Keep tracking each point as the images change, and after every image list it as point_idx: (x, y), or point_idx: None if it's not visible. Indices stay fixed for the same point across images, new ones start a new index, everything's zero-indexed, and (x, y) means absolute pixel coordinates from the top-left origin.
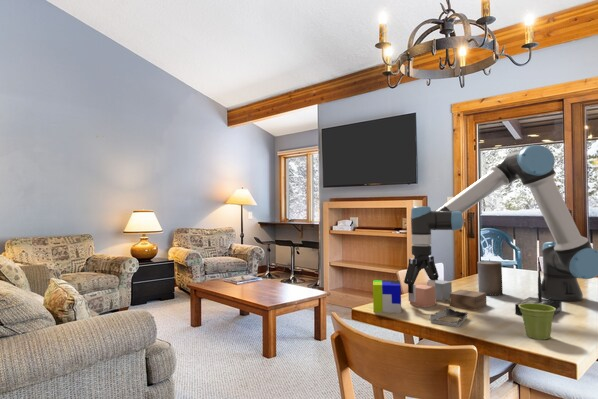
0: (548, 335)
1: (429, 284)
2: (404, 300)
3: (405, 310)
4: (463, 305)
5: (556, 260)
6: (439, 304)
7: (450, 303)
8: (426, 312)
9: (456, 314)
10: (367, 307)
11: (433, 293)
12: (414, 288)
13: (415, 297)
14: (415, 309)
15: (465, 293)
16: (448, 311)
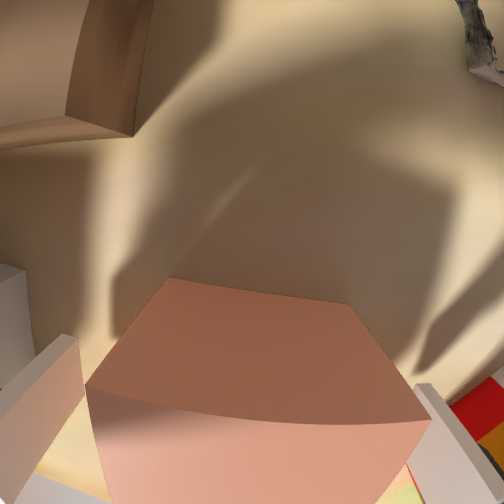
0: None
1: (26, 461)
2: None
3: (486, 359)
4: (143, 6)
5: None
6: (150, 242)
7: (123, 129)
8: (489, 223)
9: (469, 4)
10: None
11: (176, 339)
12: (493, 467)
13: (436, 408)
14: (448, 329)
15: (3, 4)
16: (482, 49)
